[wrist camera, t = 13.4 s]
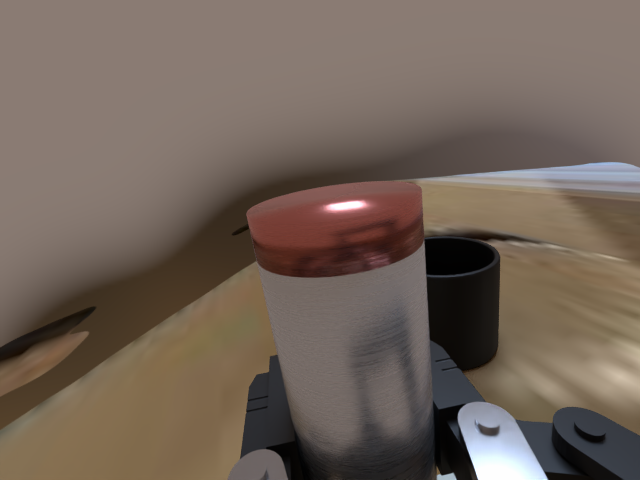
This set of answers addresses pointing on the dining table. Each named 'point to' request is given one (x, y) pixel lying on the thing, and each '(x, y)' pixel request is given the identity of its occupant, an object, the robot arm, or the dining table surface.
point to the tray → (446, 477)
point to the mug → (463, 298)
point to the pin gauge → (351, 326)
